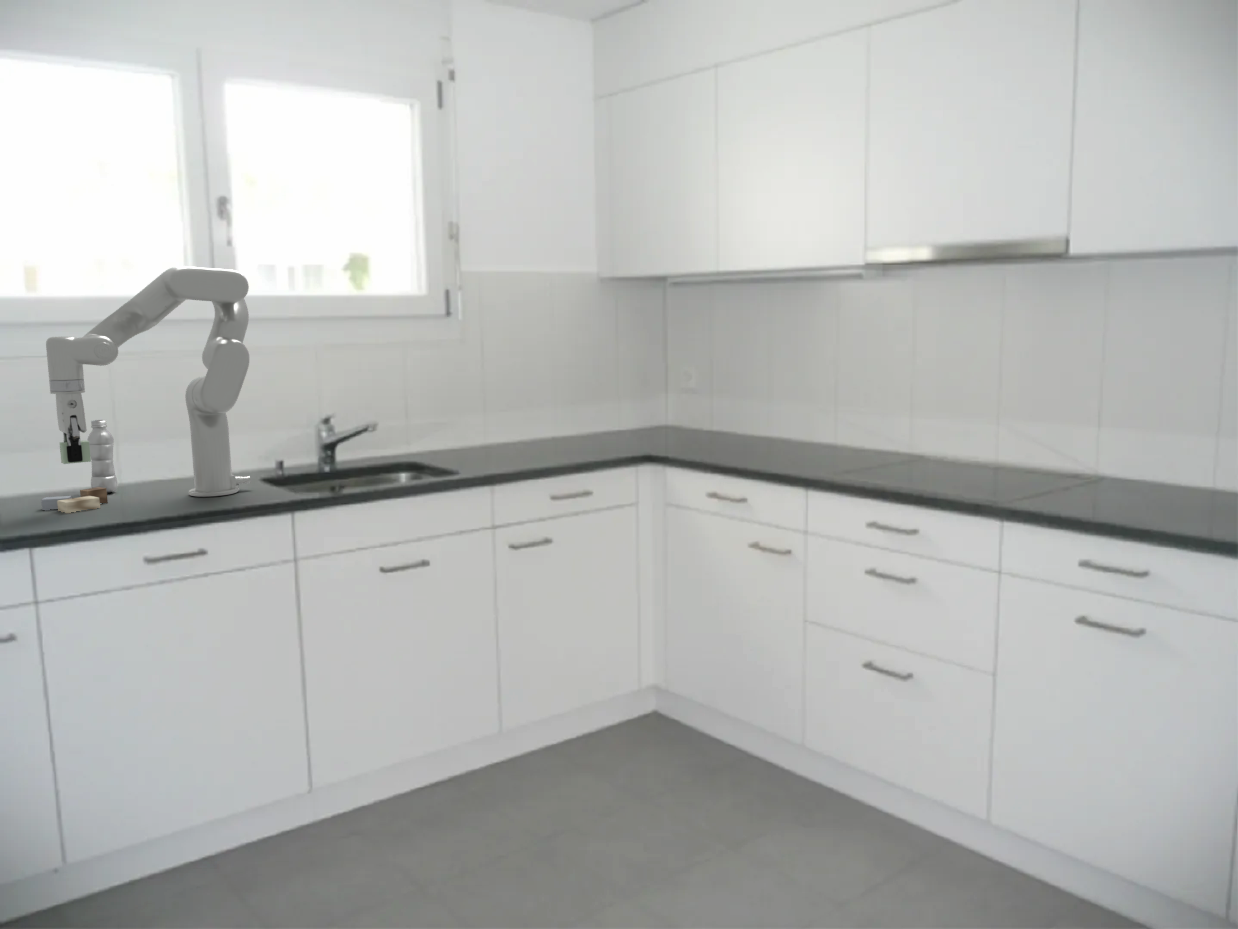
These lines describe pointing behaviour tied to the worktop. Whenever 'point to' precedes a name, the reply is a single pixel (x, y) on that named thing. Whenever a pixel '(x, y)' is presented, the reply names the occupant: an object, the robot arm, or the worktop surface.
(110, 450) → the plastic bottle
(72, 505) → the birch brick
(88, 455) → the sage brick
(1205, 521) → the worktop surface
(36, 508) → the worktop surface
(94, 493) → the walnut brick
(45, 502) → the slate brick
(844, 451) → the worktop surface
